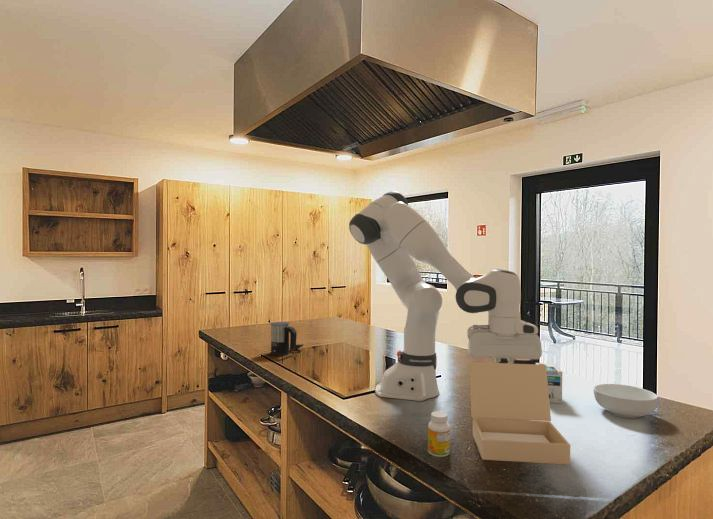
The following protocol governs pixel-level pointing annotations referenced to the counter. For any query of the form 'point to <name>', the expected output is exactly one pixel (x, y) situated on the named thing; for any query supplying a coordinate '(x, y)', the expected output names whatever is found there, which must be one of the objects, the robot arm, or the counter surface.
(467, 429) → the counter surface
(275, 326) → the milk frother
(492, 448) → the tray
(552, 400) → the light bulb box
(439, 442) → the supplement bottle
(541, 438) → the tissue paper
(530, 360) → the casserole
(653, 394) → the cereal bowl
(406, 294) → the robot arm
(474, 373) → the mailer lid
